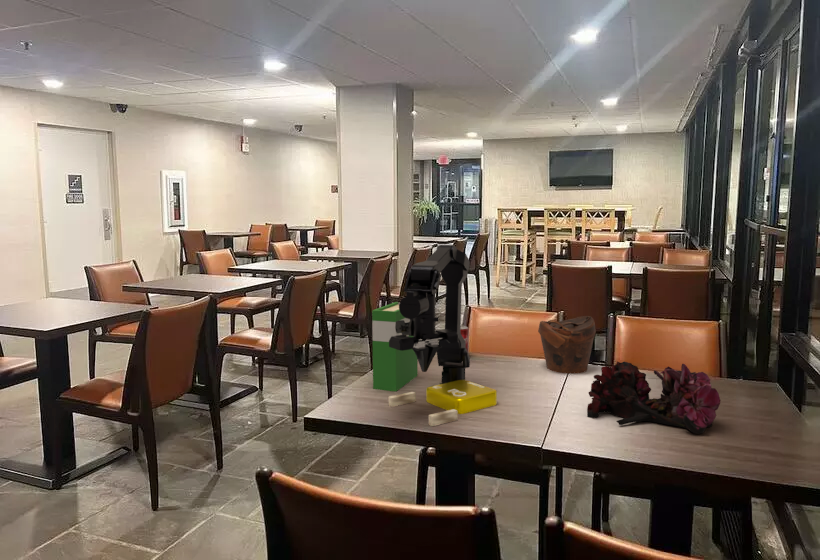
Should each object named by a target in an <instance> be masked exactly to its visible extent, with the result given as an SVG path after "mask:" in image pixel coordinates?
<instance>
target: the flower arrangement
mask: <svg viewBox="0 0 820 560" xmlns="http://www.w3.org/2000/svg"><path fill="white" fill-rule="evenodd" d="M680 368H681V370H679V369H674V368H672V367H670V366H667V367H665V368H664V370H662V371H661V372H659V371H657V370H653V373H654V375H656V376H657V378H658V379H660V380H661V387H662V390H661V393H660V398H654V397H653V398H650V393H651V391H652V388H651V387H650V383H649V382H648V380H646V377H647V374H646V373H645V372H641V371H640V369H639V368H638V366H637V365H634V364H632V363H631V362H628V361H625V360H624V361H622V362H621V361H616V363H615V364H614V363H612V365H611V366H609V365H604V366H602V367H601V374H595V375H593V378H594V380H593V381H592V383H591V386H590V390H589V392H587V393H588V395H589V397H590V398H591V397H592V398H591V402H590V403H588V404H587V406H586V407H587V408H586V411H587V413H586V414H587V417H588V418H598V417H599V415H600V414H603V413H609V414H611V415H613V416H616V417H620V418H622V419H618V420H616V423H618V426H623V425H627V424H633V423H639V422H651V423H657V424H660V425H661V424H662V425H668V426H673V427H674V426H675V427H680V428H684V429H686V430H689V431H690V433H692V434H704V432H705V430H706V429H707V428H710V427H712V426H713V422H714V421H715V419H716V418H717V412H716V411H717V410H719V407H720V405H721V398H720V394H719V392H718V390H717V389H716V388H713V387H712V384H711V379H710V378H709V376H708V374H707V373H705V372H704V371H699V372H696V371H694V372H691V371H690V368H689V367H688V366H687V365H686V363H682V364H681V367H680Z"/></svg>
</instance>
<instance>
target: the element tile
mask: <svg viewBox="0 0 820 560" xmlns="http://www.w3.org/2000/svg"><path fill="white" fill-rule="evenodd" d="M425 392H426V393H425V394H426V396H425V398H426V399H425V400H426V403H427V404H430V405H433V406H435V407H437V408H440V409H443V410H444V411H448V410H452V409H455V410H457V411H458V415H463V414H465V415H466V414H469V413H471V412H475V411H479V410H483V409H486V408H487V409H488V408H490V407H494V406H496V405H497V403H498V401H497V395H498V394H497V393H498V391H497V390H496V389H494V388H492V387H488V386H485V385H482V384H479V383H476V382H473V381H469V380H467V379H465V380H457V381H453V382H448V383H444V384H436V385H435V384H434V385H430V386H428V387H426V391H425Z"/></svg>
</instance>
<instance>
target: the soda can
mask: <svg viewBox="0 0 820 560" xmlns="http://www.w3.org/2000/svg"><path fill="white" fill-rule="evenodd" d="M460 333H461V335H462V337H463V339H464V340H465V343H466V349H467V352H468V354H470V353H469V351H470V350H469V348H470V345H469V344H470V343H469V342H470V338H469V337H470V328H469V327H468V326H466V325H461V328H460Z"/></svg>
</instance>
